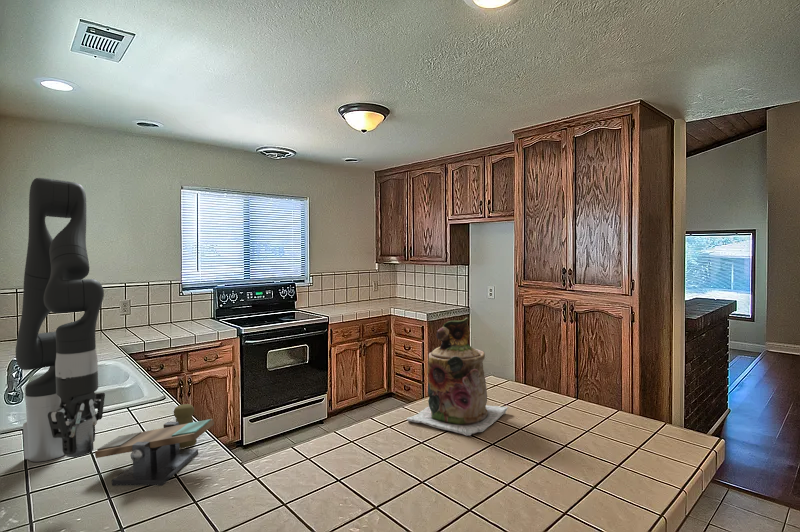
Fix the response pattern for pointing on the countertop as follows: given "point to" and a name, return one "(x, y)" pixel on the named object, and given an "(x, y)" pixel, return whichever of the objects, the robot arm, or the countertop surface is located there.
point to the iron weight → (83, 437)
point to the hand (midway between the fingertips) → (79, 447)
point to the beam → (155, 437)
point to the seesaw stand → (154, 463)
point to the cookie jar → (457, 385)
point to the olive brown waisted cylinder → (184, 420)
